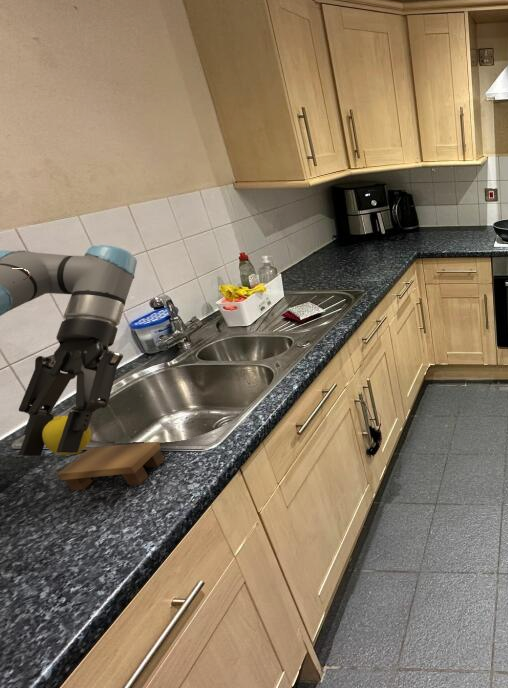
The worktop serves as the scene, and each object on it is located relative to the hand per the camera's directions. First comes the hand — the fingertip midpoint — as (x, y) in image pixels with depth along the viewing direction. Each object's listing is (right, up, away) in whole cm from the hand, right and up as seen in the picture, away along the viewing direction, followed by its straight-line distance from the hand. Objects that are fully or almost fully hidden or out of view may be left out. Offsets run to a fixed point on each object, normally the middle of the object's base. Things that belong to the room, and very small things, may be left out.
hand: (48, 453), depth 68 cm
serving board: (-3, -10, +15) cm, 19 cm away
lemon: (0, -2, +5) cm, 5 cm away
